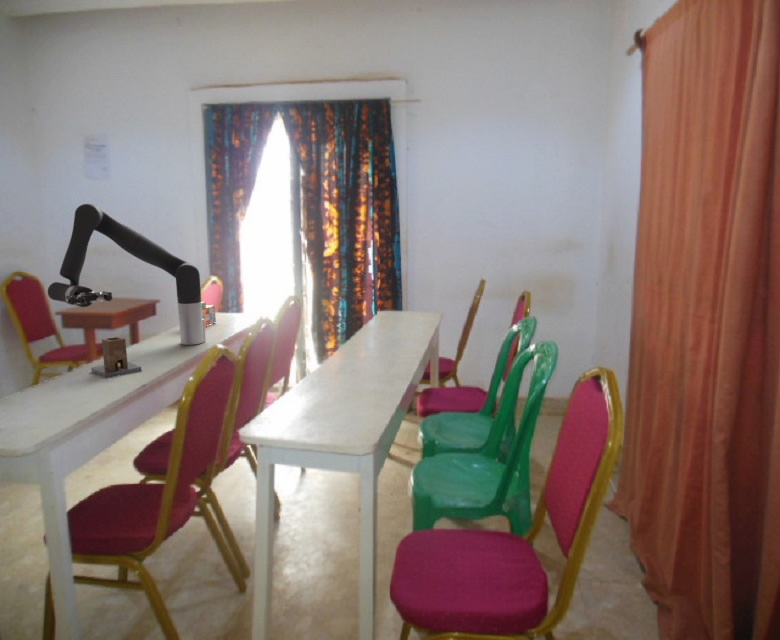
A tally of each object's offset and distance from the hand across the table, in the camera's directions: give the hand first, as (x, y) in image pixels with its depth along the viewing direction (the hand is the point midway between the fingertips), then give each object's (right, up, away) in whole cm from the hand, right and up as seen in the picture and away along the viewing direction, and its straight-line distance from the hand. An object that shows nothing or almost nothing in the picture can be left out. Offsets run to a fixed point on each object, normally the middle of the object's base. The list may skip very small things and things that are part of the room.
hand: (97, 299), depth 207 cm
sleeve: (+9, -23, -4) cm, 25 cm away
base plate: (+9, -25, -4) cm, 27 cm away
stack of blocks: (+12, -11, +74) cm, 76 cm away
